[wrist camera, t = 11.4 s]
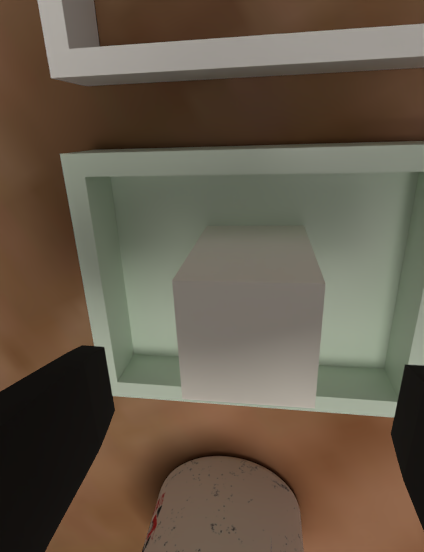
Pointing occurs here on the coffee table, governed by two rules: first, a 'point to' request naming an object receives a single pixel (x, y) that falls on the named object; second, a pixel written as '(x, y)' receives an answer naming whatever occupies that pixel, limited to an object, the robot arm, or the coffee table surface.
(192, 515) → the teacup with lid
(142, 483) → the coffee table surface
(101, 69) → the bin
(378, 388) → the green bin
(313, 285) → the cream block
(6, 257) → the coffee table surface
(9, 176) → the coffee table surface
